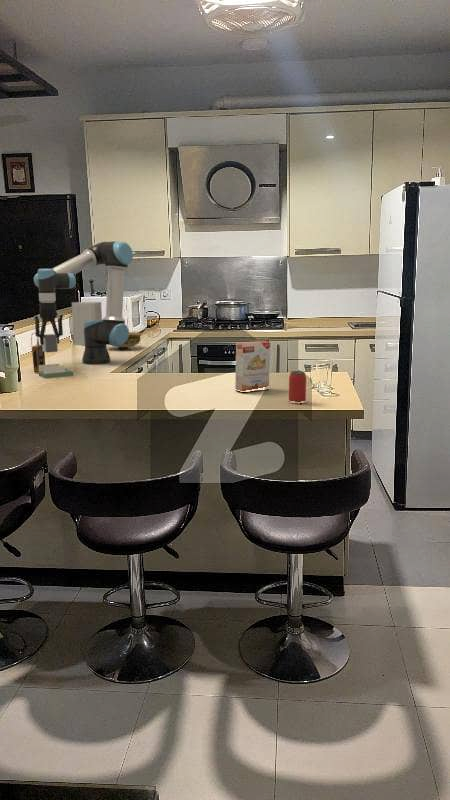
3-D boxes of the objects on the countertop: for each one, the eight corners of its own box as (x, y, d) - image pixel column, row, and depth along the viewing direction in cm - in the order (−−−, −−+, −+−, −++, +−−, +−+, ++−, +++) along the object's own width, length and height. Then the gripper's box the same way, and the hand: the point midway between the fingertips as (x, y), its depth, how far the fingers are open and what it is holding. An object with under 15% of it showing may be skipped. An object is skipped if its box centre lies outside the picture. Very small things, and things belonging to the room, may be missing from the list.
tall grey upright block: (80, 347, 401) (78, 303, 395) (73, 344, 414) (71, 302, 408) (108, 345, 411) (106, 302, 405) (100, 342, 423) (99, 301, 417)
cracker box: (242, 393, 256) (242, 343, 252) (234, 391, 261) (235, 342, 257) (270, 390, 264) (270, 341, 259) (261, 388, 269) (262, 340, 264)
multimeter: (48, 374, 303) (46, 333, 298) (30, 373, 305) (27, 333, 300) (62, 369, 317) (60, 330, 313) (44, 368, 319) (41, 330, 314)
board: (66, 372, 307) (66, 362, 306) (73, 375, 300) (72, 365, 298) (39, 375, 299) (38, 365, 298) (44, 378, 292) (44, 367, 291)
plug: (53, 350, 299) (52, 334, 297) (57, 351, 295) (56, 335, 293) (43, 351, 296) (42, 334, 295) (46, 352, 292) (45, 335, 290)
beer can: (287, 400, 243) (287, 370, 241) (303, 400, 244) (304, 370, 241) (290, 404, 237) (291, 373, 234) (307, 404, 237) (308, 373, 235)
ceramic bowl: (151, 350, 387) (151, 334, 384) (117, 353, 373) (116, 337, 370) (128, 345, 410) (128, 330, 408) (95, 348, 396) (95, 332, 394)
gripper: (63, 301, 299) (65, 348, 303) (25, 302, 289) (29, 351, 294) (68, 301, 293) (71, 350, 297) (30, 302, 283) (33, 353, 288)
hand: (50, 350), depth 296 cm, fingers closed on plug, 5 cm apart
